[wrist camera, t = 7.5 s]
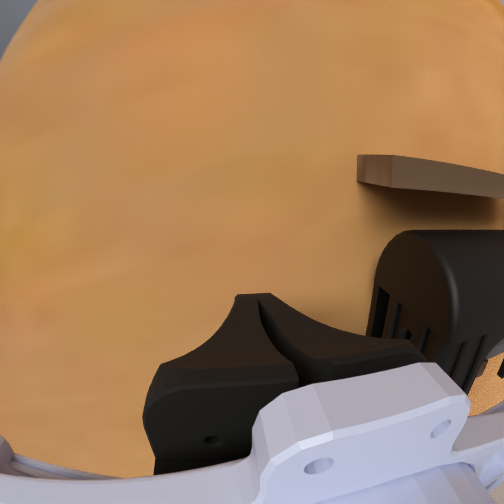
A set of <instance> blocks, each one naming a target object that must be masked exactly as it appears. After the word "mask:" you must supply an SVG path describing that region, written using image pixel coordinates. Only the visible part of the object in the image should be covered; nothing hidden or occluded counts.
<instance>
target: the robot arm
mask: <svg viewBox="0 0 504 504" xmlns="http://www.w3.org/2000/svg"><path fill="white" fill-rule="evenodd" d="M470 407H471V401H470V400H469V398H468V397H467V395H466V394H465V393H464V392H463V391H462V389H461V388H460V387H459V386H458V385H457V384H456V383H455V382H454V381H453V380H452V379H451V378H450V377H449V376H448V375H447V374H446V373H445V372H444V371H443V370H442V369H441V368H440V367H439V366H438V365H437V364H436V363H427V360H426V358H425V356H424V355H423V354H422V353H421V352H420V351H419V350H418V349H417V348H416V347H415V346H414V345H413V344H412V343H411V342H410V341H409V340H407V339H386V338H376V337H369V336H363V335H358V334H353V333H350V332H346V331H342V330H339V329H336V328H333V327H330V326H327V325H325V324H322V323H320V322H317V321H315V320H313V319H311V318H309V317H307V316H305V315H304V314H302V313H300V312H298V311H297V310H295V309H293V308H292V307H290V306H289V305H287V304H286V303H284V302H283V301H281V300H280V299H278V298H277V297H275V296H274V295H272V294H271V293H257V294H238V295H237V296H236V297H235V301H234V304H233V307H232V309H231V311H230V313H229V315H228V316H227V318H226V320H225V321H224V322H223V324H222V325H221V327H220V328H219V329H218V330H217V332H216V333H215V334H214V335H213V336H212V337H211V338H210V339H209V340H207V341H206V342H205V343H203V344H202V345H201V346H199V347H198V348H196V349H195V350H193V351H191V352H189V353H187V354H186V355H183V356H181V357H179V358H176V359H174V360H171V361H168V362H166V363H162V364H161V365H160V366H159V368H158V370H157V372H156V374H155V376H154V378H153V380H152V383H151V385H150V387H149V390H148V393H147V397H146V401H145V406H144V411H143V416H142V418H143V425H144V429H145V431H146V434H147V437H148V440H149V442H150V445H151V448H152V450H153V453H154V455H155V466H154V475H153V476H144V477H134V478H120V477H113V476H106V475H100V474H94V473H89V472H84V471H79V470H74V469H69V468H65V467H61V466H57V465H53V464H49V463H46V462H42V461H39V460H35V459H32V458H29V457H25V456H22V455H19V454H16V453H14V451H13V450H12V448H11V446H10V445H9V443H8V442H7V441H6V440H5V438H3V437H2V436H1V435H0V504H496V502H495V500H494V499H493V498H492V496H491V495H490V492H491V491H492V490H494V489H495V488H496V487H497V486H499V485H500V484H501V483H502V482H503V481H504V401H502V402H501V403H499V404H497V405H495V406H494V407H492V408H490V409H488V410H486V411H485V412H483V413H481V414H479V415H475V416H468V414H469V411H470Z"/></svg>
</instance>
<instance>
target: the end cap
mask: <svg viewBox="0 0 504 504" xmlns="http://www.w3.org/2000/svg"><path fill="white" fill-rule="evenodd" d="M366 336H369V337H376V338H386V339H407V340H409V341H410V342H411V343H412V344H413V345H414V346H415V347H416V348H417V349H418V350H419V351H420V352H421V353H422V354H423V355H424V356H425V358H426V360H427V363H436V364H437V365H438V366H439V367H440V368H441V369H442V370H443V371H444V372H445V373H446V374H447V375H448V376H449V377H450V378H451V379H452V380H453V381H454V382H455V383H456V384H457V385H458V386H459V387H460V388H461V389H462V391H463V392H464V393H465V394H466V395H468V393H469V391H470V389H471V387H472V384H473V382H474V380H475V378H476V375H477V373H478V371H479V369H480V367H481V365H482V363H483V361H484V360H485V358H486V357H487V355H488V354H489V352H490V351H491V350H492V349H493V348H494V346H495V345H496V344H497V343H498V342H499V341H501V340H502V339H503V338H504V230H409V231H404V232H402V233H400V234H398V235H396V236H395V237H394V238H393V239H392V240H391V241H389V243H388V244H387V246H386V247H385V249H384V250H383V252H382V254H381V257H380V259H379V262H378V265H377V268H376V273H375V278H374V288H373V294H372V301H371V307H370V313H369V319H368V325H367V330H366ZM497 375H498V376H499V377H500V378H504V359H503V362H502V364H501V366H500V369H499V371H498V373H497Z"/></svg>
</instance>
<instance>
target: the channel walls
mask: <svg viewBox="0 0 504 504" xmlns="http://www.w3.org/2000/svg"><path fill="white" fill-rule="evenodd" d="M357 181H360V182H365V183H371V184H376V185H381V186H386V187H391V188H404V189H417V190H429V191H440V192H450V193H460V194H469V195H477V196H485V197H493V198H500V199H504V175H503V174H499V173H495V172H490V171H486V170H481V169H476V168H471V167H466V166H461V165H456V164H450V163H444V162H438V161H432V160H426V159H419V158H412V157H405V156H397V155H358V161H357ZM487 362H488V360H487V359H486V358H485V360H484V361H483V363H482V365H481V367H480V369H479V371H478V373H477V375H476V378H477V377H479V376H481V375H482V374H483V372H484V369H485V367H486V365H487Z"/></svg>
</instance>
